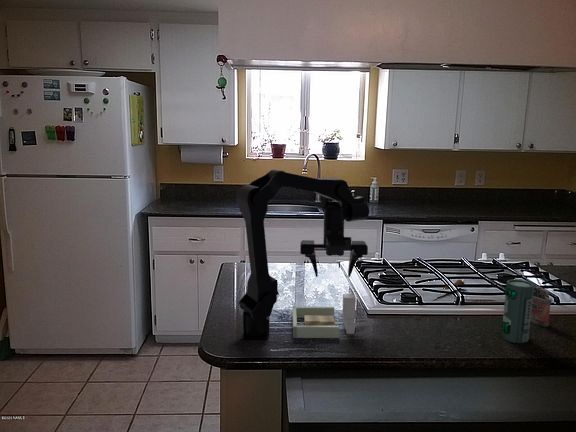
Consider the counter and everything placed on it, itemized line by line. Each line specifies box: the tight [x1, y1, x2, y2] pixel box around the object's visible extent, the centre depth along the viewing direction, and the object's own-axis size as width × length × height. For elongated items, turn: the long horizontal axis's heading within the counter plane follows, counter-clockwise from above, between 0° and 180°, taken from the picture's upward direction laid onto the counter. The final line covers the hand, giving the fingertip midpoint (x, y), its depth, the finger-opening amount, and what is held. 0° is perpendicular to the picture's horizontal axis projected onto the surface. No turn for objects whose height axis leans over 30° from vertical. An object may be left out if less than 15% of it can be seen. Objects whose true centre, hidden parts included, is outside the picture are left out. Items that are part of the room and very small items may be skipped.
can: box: [501, 278, 535, 344], centre depth 121 cm, size 6×6×15 cm
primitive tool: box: [442, 279, 466, 289], centre depth 155 cm, size 19×6×4 cm, turn 126°
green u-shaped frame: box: [292, 306, 340, 339], centre depth 129 cm, size 12×14×3 cm
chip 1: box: [303, 315, 320, 326], centre depth 130 cm, size 4×4×2 cm
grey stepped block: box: [342, 293, 356, 335], centre depth 129 cm, size 3×9×9 cm, turn 0°
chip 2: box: [319, 316, 336, 326], centre depth 130 cm, size 4×4×2 cm
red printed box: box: [530, 285, 552, 327], centre depth 133 cm, size 8×3×10 cm, turn 23°
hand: (332, 276), depth 134 cm, fingers open, 9 cm apart
